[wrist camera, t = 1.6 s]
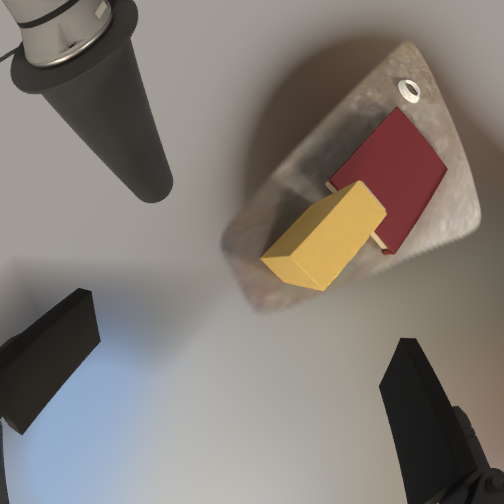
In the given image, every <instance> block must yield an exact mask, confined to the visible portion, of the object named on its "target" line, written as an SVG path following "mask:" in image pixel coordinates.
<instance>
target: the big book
mask: <svg viewBox="0 0 504 504" xmlns="http://www.w3.org/2000/svg"><path fill="white" fill-rule="evenodd" d="M447 170H448V169H447V167H446V166H445V164H444V163H443V162H442V160H441V159H440V158H439V156H438V155H437V154H436V152H435V151H434V150H433V148H432V147H431V146H430V144H429V143H428V142H427V141H426V139H425V138H424V137H423V136H422V134H421V133H420V132H419V131H418V129H417V128H416V127H415V126H414V125H413V124H412V122H411V121H410V120H409V119H408V118H407V117H406V115H405V114H404V113H403V112H402V111H401V110H400V109H399V108H398V107H395V109H394V110H393V111H392V112H391V113H390V114H389V115H388V116H387V117H386V118H385V119H384V121H383V122H382V123H381V124H380V125H379V126H378V127H377V128H376V129H375V130H374V131H373V132H372V134H371V135H370V136H369V137H368V138H367V139H366V140H365V141H364V142H363V143H362V144H361V146H360V147H359V148H358V149H357V150H356V151H355V152H354V153H353V154H352V155H351V156H350V157H349V159H348V160H347V161H346V162H345V163H344V164H343V165H342V166H341V167H340V168H339V169H338V170H337V172H336V173H335V174H334V175H333V176H332V177H331V178H330V179H329V180H328V181H327V182H326V183H325V185H326V186H327V188H328V189H329V190H330V191H331V192H332V193H335V192H337V191H339V190H341V189H343V188H344V187H346V186H348V185H350V184H352V183H354V182H356V181H358V180H359V181H362V182H363V183H364V184H365V185H366V186H367V188H368V189H369V190H370V191H371V192H372V194H373V195H374V196H375V197H376V198H377V200H378V201H379V202H380V203H381V204H382V206H383V207H384V208H385V209H386V210H385V212H386V213H387V215H386V216H385V217H384V219H383V220H382V221H381V223H380V224H379V225H378V226H377V228H376V229H375V230H374V231H373V233H372V234H371V236H372V237H373V238H374V240H375V241H376V242H377V243H378V244H379V246H380V247H381V248H382V249H383V250H382V253H383V254H384V255H388V254H395V253H396V252H397V251H398V249H399V248H400V246H401V245H402V243H403V242H404V240H405V239H406V237H407V236H408V234H409V233H410V231H411V230H412V228H413V227H414V225H415V224H416V222H417V220H418V219H419V217H420V216H421V214H422V213H423V211H424V209H425V208H426V206H427V204H428V203H429V201H430V199H431V198H432V196H433V194H434V193H435V191H436V189H437V188H438V186H439V184H440V182H441V181H442V179H443V177H444V175H445V174H446V172H447Z"/></svg>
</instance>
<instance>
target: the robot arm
mask: <svg viewBox="0 0 504 504" xmlns="http://www.w3.org/2000/svg"><path fill="white" fill-rule="evenodd" d="M2 1H3V2H4V4H5V6H6V7H7V9H8V10H9V12H10V13H11V15H12V16H13V18H14V19H15V21H16V22H17V24H18V25H19V27H20V29H21V34H22V40H23V44H22V45H21V46H19V47H17V48H15V49H13V50H12V51H10V52H8V53H7V54H5V55H4V56H2V57H0V62H2V61H3V60H5V59H7V58H8V57H10V56H11V55H13V54H15V53H17V52H19V51H21V50H22V49H24V53H25V57H26V59H27V61H28V62H29V63H30V64H31V66H32V67H34V68H35V69H39V70H49V69H54V68H57V67H60V66H63V65H65V64H68V63H70V62H72V61H74V60H75V59H77V58H79V57H80V56H82V55H83V54H85V53H86V52H88V51H89V50H90V49H92V48H93V47H94V46H95V45H96V44H97V43H99V42H100V41H101V40H102V38H103V37H104V36H105V35H106V34H107V32H108V31H109V29H110V28H111V26H112V23H113V19H114V15H113V11H112V8H111V5H110V4H109V2H108V1H107V0H2ZM100 341H101V340H100V336H99V331H98V326H97V322H96V315H95V311H94V304H93V298H92V292H91V291H89V290H85V289H81V288H78V289H77V290H75V291H74V292H73V293H71V294H70V295H69V296H67V297H66V298H65V299H63V300H62V301H61V302H60V303H58V304H57V305H56V306H54V307H53V308H52V309H51V310H50V311H48V312H47V313H46V314H45V315H43V316H42V317H41V318H39V319H38V320H37V321H36V322H34V324H32V325H31V326H30V327H28V328H27V329H26V330H25V331H24V332H22V333H20V334H18V335H16V336H14V337H12V338H10V339H9V340H7V341H6V342H5V343H4V344H3V345H2V347H0V419H1V418H2V417H3V418H4V419H5V421H6V422H7V423H8V425H9V426H10V427H11V428H13V429H14V430H15V431H17V432H18V433H19V434H21V435H23V433H24V432H25V431H26V430H27V429H28V427H29V426H30V425H31V423H32V422H33V421H34V420H35V418H36V417H37V416H38V414H39V413H40V412H41V411H42V410H43V408H44V407H45V406H46V405H47V403H48V402H49V401H50V400H51V399H52V397H53V396H54V395H55V394H56V392H57V391H58V390H59V389H60V388H61V386H62V385H63V384H64V383H65V382H66V381H67V379H68V378H69V377H70V376H71V374H72V373H73V372H74V371H75V370H76V369H77V368H78V367H79V365H80V364H81V363H82V362H83V361H84V360H85V358H86V357H87V356H88V355H89V354H90V353H91V352H92V350H93V349H94V348H95V347H96V346H97V345H98V344H99V342H100ZM379 388H380V392H381V395H382V399H383V402H384V405H385V409H386V413H387V416H388V420H389V424H390V427H391V431H392V435H393V439H394V443H395V447H396V451H397V455H398V460H399V464H400V468H401V473H402V478H403V482H404V487H405V492H406V497H407V503H408V504H437V503H438V502H439V504H504V472H502V471H501V470H499V469H496V468H490V466H489V464H488V462H487V459H486V457H485V454H484V452H483V450H482V447H481V445H480V443H479V440H478V439H477V436H475V431H474V429H473V428H472V427H471V423H470V421H469V419H468V417H467V415H466V414H465V413H464V412H463V411H462V410H461V408H460V407H459V406H453V407H452V406H451V404H450V402H449V400H448V398H447V396H446V394H445V392H444V390H443V388H442V386H441V384H440V382H439V380H438V378H437V376H436V374H435V372H434V370H433V368H432V367H431V365H430V363H429V361H428V359H427V357H426V356H425V354H424V352H423V350H422V348H421V347H420V345H419V343H418V341H417V339H415V338H400V341H399V343H398V345H397V348H396V350H395V353H394V355H393V357H392V359H391V362H390V364H389V366H388V368H387V370H386V372H385V375H384V377H383V379H382V381H381V383H380V385H379ZM2 436H3V433H2V423H1V421H0V504H9V499H8V493H7V486H6V478H5V469H4V457H3V438H2Z"/></svg>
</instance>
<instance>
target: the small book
mask: <svg viewBox="0 0 504 504" xmlns="http://www.w3.org/2000/svg"><path fill="white" fill-rule="evenodd" d="M385 210H386V209H385V208H384V207H383V206H382V204H381V203H380V202H379V201H378V200H377V198H376V197H375V196H374V195H373V194H372V192H371V191H370V190H369V189H368V188H367V186H366V185H365V184H364V183H363V182H362V181H359V180H358V181H356V182H354V183H352V184H350V185H348V186H346V187H344V188H343V189H341V190H339V191H337V192H335V193H333V194H331V195H329V196H327V197H325V198H324V199H322V200H320V201H318V202H316V203H314V204H312V205H311V206H310V207H309V208H308V209H307V210H306V211H305V212H304V213H303V214H302V215H301V216H300V217H299V218H298V219H297V220H296V221H295V223H294V224H293V225H292V226H291V227H290V228H289V229H288V230H287V231H286V232H285V233H284V234H283V235H282V236H281V237H280V238H279V239H278V240H277V241H276V242H275V243H274V244H273V245H272V246H271V247H270V248H269V249H268V251H267V252H266V253H265V254H264V255H263V256H262V257H261V258H260V259H261V260H262V261H263V262H264V263H265V264H266V265H267V266H268V267H269V268H270V269H271V270H272V271H273V272H274V273H275V274H276V275H277V276H278V277H279V278H280V279H281V280H282V281H283V282H285V283H290V284H294V285H298V286H303V287H307V288H311V289H316V290H320V291H324V290H325V289H326V288H327V287H328V286H329V285H330V283H331V282H332V281H333V280H334V279H335V278H336V276H337V275H338V274H339V273H340V272H341V271H342V269H343V268H344V267H345V266H346V265H347V263H348V262H349V261H350V260H351V259H352V257H353V256H354V255H355V254H356V253H357V251H358V250H359V249H360V248H361V246H362V245H363V244H364V243H365V242H366V240H367V239H368V238H369V237H370V235H371V234H372V233H373V231H374V230H375V229H376V228H377V226H378V225H379V224H380V223H381V221H382V220H383V219H384V217H385V216H386V215H387V213H386V212H385Z"/></svg>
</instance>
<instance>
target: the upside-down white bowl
mask: <svg viewBox="0 0 504 504" xmlns="http://www.w3.org/2000/svg"><path fill="white" fill-rule="evenodd" d="M406 83H409V84H411V85H412V86H413V87H414V88H415V90H416V92H417V96H416V95H413V94H412V93H411V92H410V91H409V90H408V89H407V87H406ZM398 87H399V90H400V92H401V94H402V95H403V96H404V98H405V99H407V100H408V101H409V102H412V103H417V102H418V101H419V96H420V89H419V88H418V86H417V85H416V84H415V83H414V82H412V81H410V80H403V81H400V82H399V84H398Z"/></svg>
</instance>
